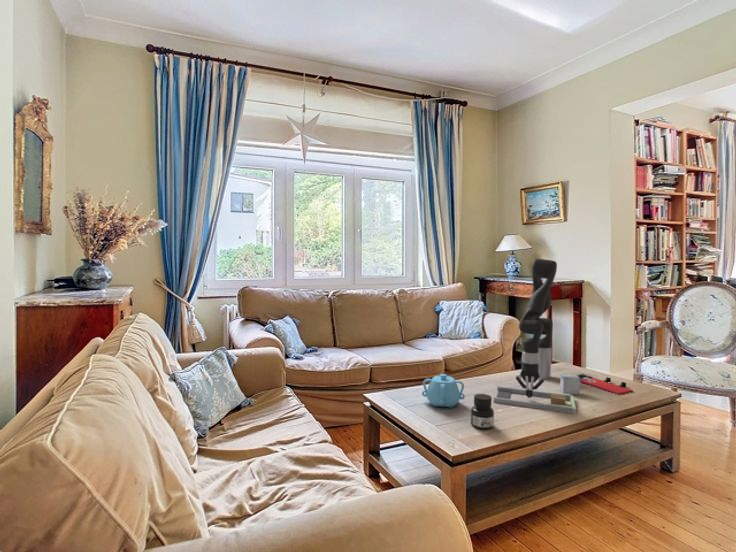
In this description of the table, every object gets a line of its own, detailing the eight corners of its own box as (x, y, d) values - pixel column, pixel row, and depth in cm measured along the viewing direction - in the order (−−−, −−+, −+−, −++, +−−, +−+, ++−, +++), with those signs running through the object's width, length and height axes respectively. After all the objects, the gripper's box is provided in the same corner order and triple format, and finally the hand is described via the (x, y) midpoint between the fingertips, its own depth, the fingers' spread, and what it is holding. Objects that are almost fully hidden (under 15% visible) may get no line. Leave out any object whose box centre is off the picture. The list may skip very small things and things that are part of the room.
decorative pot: (418, 400, 196) (418, 372, 195) (446, 395, 203) (446, 367, 203) (439, 412, 182) (439, 382, 181) (468, 406, 189) (468, 377, 188)
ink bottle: (472, 430, 164) (472, 400, 163) (468, 420, 173) (468, 392, 172) (497, 430, 164) (497, 400, 163) (491, 421, 172) (492, 393, 172)
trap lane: (497, 390, 211) (497, 385, 211) (572, 399, 198) (573, 394, 198) (493, 402, 194) (493, 397, 194) (575, 413, 181) (575, 408, 181)
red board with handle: (584, 375, 238) (566, 378, 231) (585, 370, 238) (566, 373, 231) (637, 392, 211) (618, 396, 204) (638, 386, 210) (618, 391, 204)
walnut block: (550, 401, 196) (550, 393, 196) (564, 403, 193) (565, 395, 193) (550, 406, 190) (551, 397, 190) (565, 408, 188) (565, 399, 188)
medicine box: (576, 391, 209) (576, 374, 208) (579, 394, 205) (580, 377, 204) (559, 391, 210) (560, 374, 209) (563, 394, 205) (563, 377, 205)
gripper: (545, 360, 196) (544, 396, 198) (515, 357, 201) (514, 392, 202) (545, 364, 190) (544, 401, 191) (514, 361, 194) (514, 398, 196)
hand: (529, 397), depth 197 cm, fingers closed
